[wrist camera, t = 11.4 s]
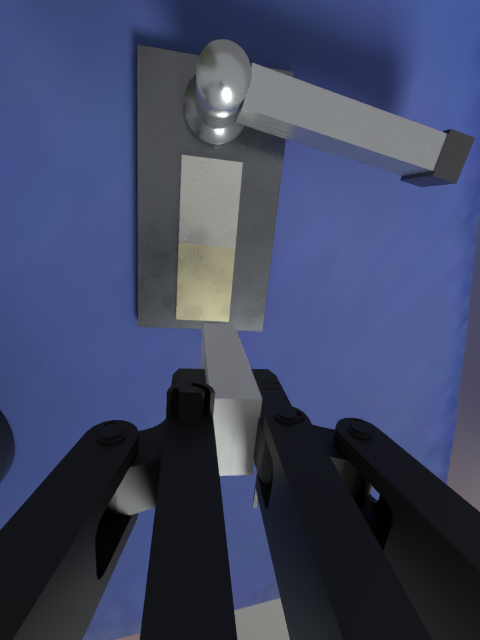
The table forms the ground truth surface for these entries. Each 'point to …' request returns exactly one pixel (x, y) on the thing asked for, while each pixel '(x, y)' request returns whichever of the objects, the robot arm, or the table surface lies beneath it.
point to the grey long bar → (322, 118)
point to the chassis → (200, 204)
